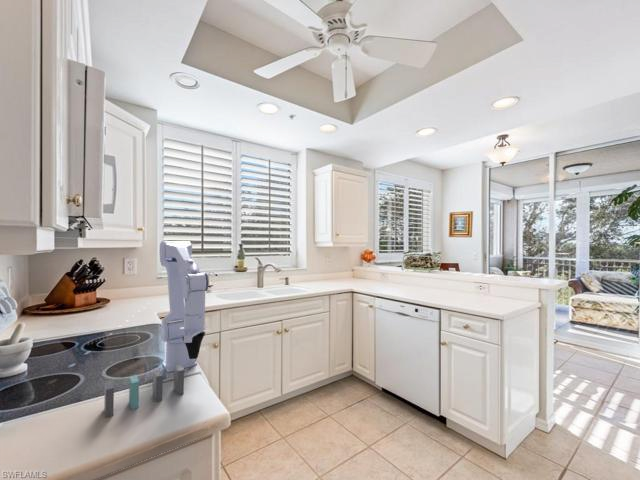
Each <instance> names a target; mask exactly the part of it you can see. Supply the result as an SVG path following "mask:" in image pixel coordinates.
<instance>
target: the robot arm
mask: <svg viewBox="0 0 640 480" xmlns="http://www.w3.org/2000/svg"><path fill="white" fill-rule="evenodd" d="M192 255H193V244H192V242H191V241H190V240H187V241H186V240H185V241H181V240H172V241H171V240H161V242H160V243H159V262H160V265H161V266H162V267H164V268H165V269H166V275H167V287H168V302H169V312H168V313H167V315H166V316H164V318H162V320H161V328H160V329H161V331H160V332H161V340H162V341H163V342H164V343H166V345H165V348H166V349H165V361H164V362H162V366H163V367H164V369H165V370H166V373H171V372H174V365H178V364H180V365H181V366H182V367H183V369H186V368H190V367H195V366H197V365H198V363H197V359H198V357H199V354H200V350H201V345H202V341H203V339H204V337H205V336H206V326H205V325H206V324H205V320H206V318H205V317H206V292H208V289H209V285H210V281H209V276H208V274H207V273H208V272H206V271H205V272H204V271H201V269H200V267H199V265H198V264H197V261H196V260H193V259H191V258H192V257H191V256H192ZM195 362H196V363H195Z"/></svg>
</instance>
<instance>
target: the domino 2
mask: <svg viewBox="0 0 640 480" xmlns="http://www.w3.org/2000/svg"><path fill="white" fill-rule="evenodd" d="M128 386H129V390H128V391H129V392H128V396H129V397H128V402H129V407H130V410H131V411H132V410H135V409H138V408H139V400H140V397H139V395H140V389H139V388H140V380H139V378H138V375H137V374H134V375H133V374H132V375H131V376H129V385H128Z"/></svg>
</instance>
